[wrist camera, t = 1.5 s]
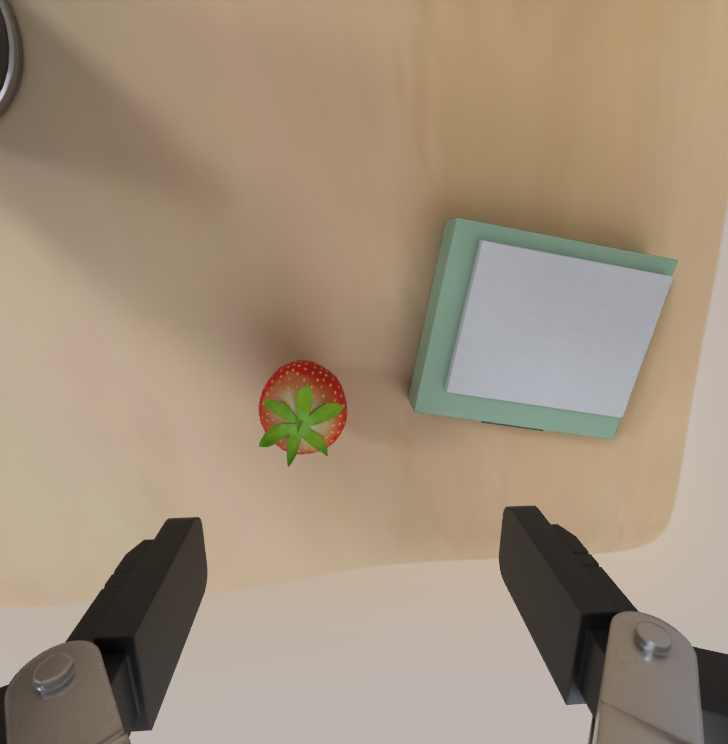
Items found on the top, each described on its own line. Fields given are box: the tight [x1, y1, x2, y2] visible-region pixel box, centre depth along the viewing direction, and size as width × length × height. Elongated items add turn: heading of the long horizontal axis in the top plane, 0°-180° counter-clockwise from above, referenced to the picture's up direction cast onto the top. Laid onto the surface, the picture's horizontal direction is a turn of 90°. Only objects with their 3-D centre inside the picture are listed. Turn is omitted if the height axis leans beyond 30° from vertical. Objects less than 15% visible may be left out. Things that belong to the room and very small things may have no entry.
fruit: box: [259, 361, 347, 467], centre depth 25 cm, size 5×5×8 cm
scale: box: [408, 217, 678, 440], centre depth 28 cm, size 14×12×3 cm
